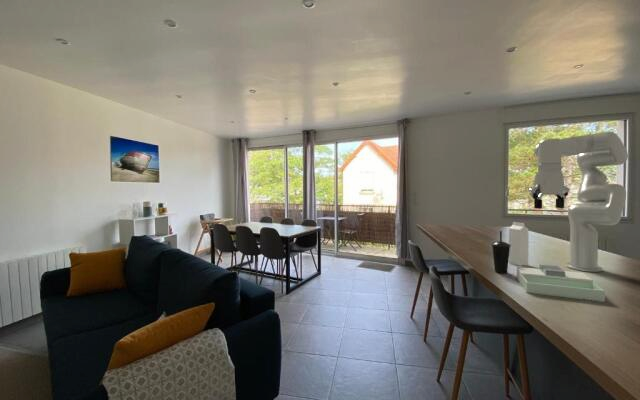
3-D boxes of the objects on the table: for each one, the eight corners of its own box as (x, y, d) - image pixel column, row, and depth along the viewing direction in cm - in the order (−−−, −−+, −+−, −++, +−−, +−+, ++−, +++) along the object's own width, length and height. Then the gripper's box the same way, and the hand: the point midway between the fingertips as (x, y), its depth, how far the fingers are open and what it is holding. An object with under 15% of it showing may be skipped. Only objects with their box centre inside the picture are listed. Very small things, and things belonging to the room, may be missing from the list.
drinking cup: (514, 274, 122) (513, 232, 121) (495, 274, 124) (495, 232, 123) (505, 269, 130) (505, 229, 129) (488, 269, 131) (488, 229, 130)
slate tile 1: (539, 269, 114) (539, 264, 114) (557, 270, 111) (557, 265, 111) (542, 271, 111) (542, 267, 110) (560, 273, 108) (560, 268, 108)
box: (521, 285, 110) (521, 275, 110) (593, 292, 100) (593, 282, 100) (526, 292, 102) (526, 282, 102) (604, 302, 92) (604, 290, 92)
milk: (520, 266, 134) (520, 223, 133) (508, 263, 140) (508, 222, 139) (528, 264, 136) (528, 222, 135) (517, 261, 142) (517, 221, 141)
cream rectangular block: (516, 277, 118) (516, 267, 118) (582, 284, 108) (582, 272, 108) (521, 284, 110) (521, 273, 110) (592, 292, 100) (592, 279, 100)
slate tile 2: (542, 272, 110) (542, 267, 110) (561, 273, 107) (561, 269, 107) (545, 275, 106) (545, 270, 106) (565, 277, 104) (565, 272, 104)
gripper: (560, 168, 116) (559, 207, 117) (522, 169, 116) (522, 208, 116) (577, 167, 109) (577, 208, 109) (537, 167, 108) (537, 209, 109)
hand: (548, 208), depth 113 cm, fingers open, 9 cm apart
